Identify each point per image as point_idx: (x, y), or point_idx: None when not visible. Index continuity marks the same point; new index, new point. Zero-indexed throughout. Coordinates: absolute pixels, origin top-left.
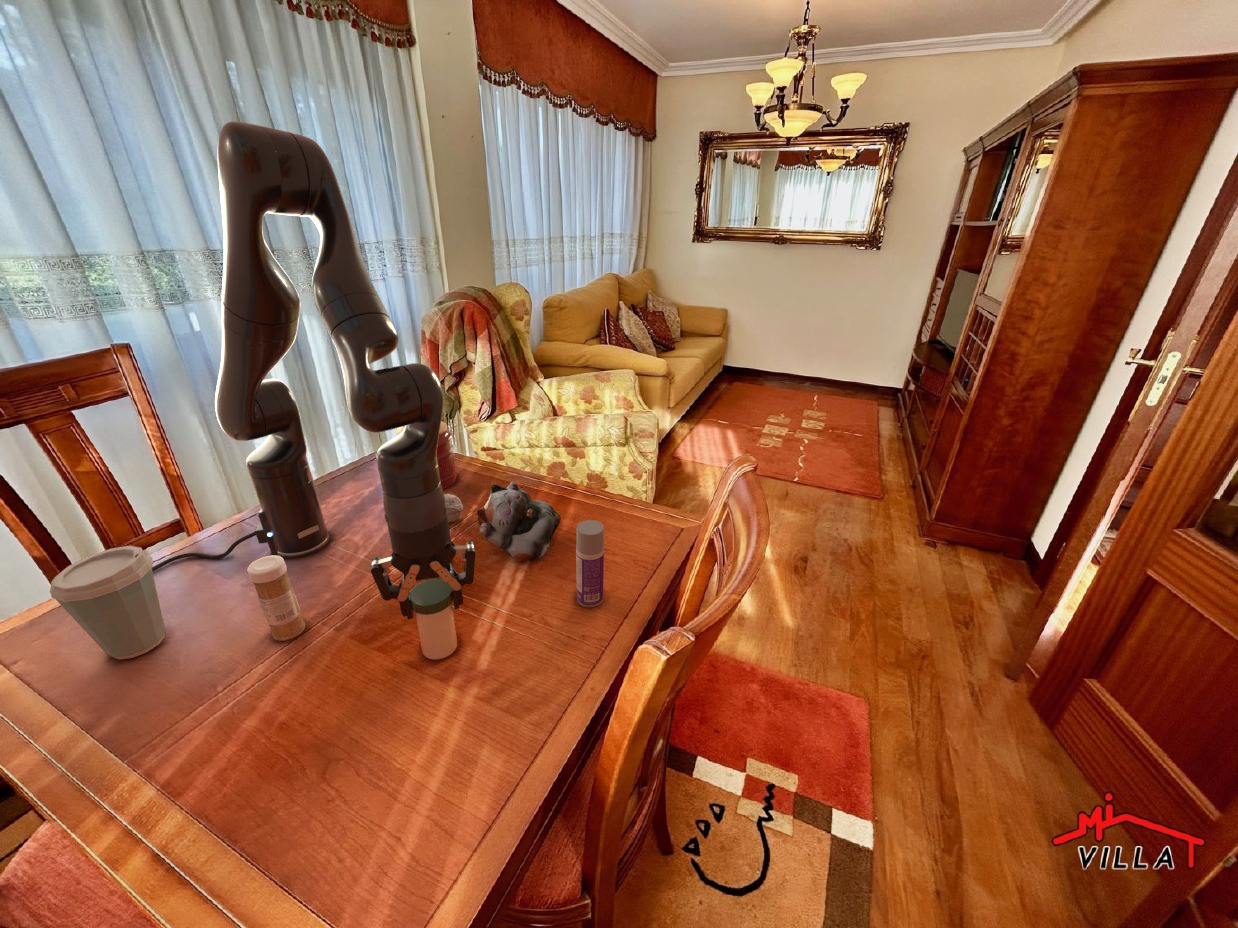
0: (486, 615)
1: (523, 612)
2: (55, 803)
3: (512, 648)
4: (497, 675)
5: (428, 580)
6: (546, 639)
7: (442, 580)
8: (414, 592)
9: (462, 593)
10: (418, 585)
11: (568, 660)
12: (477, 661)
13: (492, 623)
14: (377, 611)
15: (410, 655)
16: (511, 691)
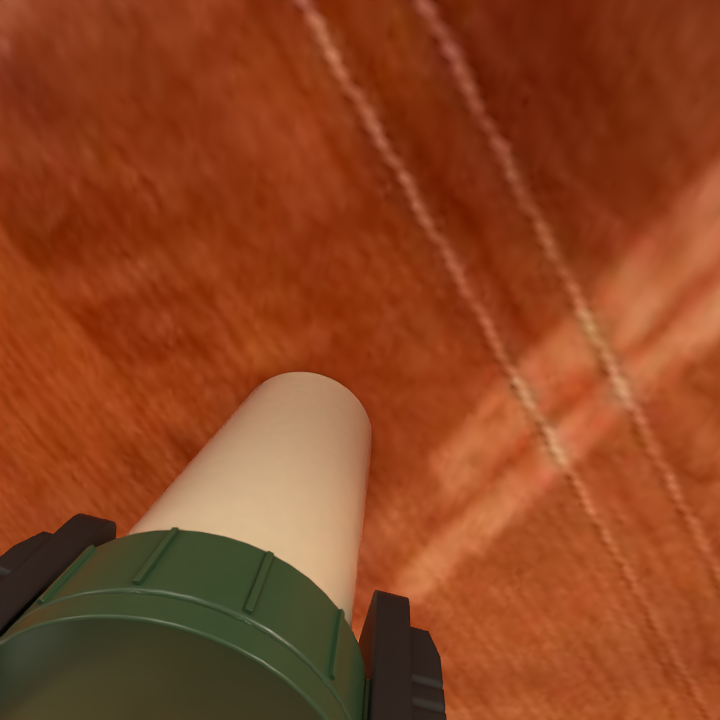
0: (539, 373)
1: (690, 444)
2: None
3: (536, 581)
4: (437, 642)
5: (151, 638)
6: (668, 611)
7: (294, 712)
8: (5, 713)
9: (440, 686)
10: (42, 656)
11: (666, 712)
12: (403, 565)
13: (537, 432)
14: (75, 44)
15: (196, 417)
16: (448, 704)
